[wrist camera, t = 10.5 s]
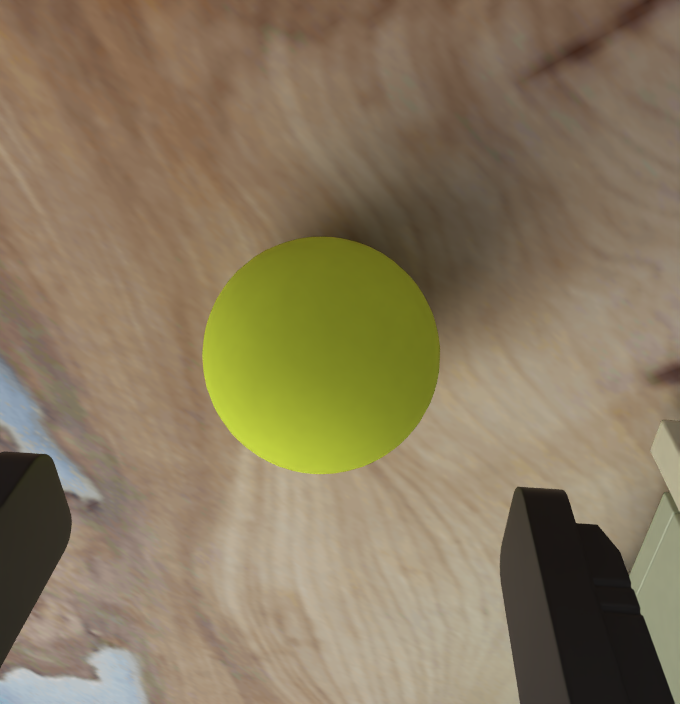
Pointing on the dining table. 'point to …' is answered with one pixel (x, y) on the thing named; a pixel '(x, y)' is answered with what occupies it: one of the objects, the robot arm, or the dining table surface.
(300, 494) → the dining table surface
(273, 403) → the tennis ball
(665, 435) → the drawer
